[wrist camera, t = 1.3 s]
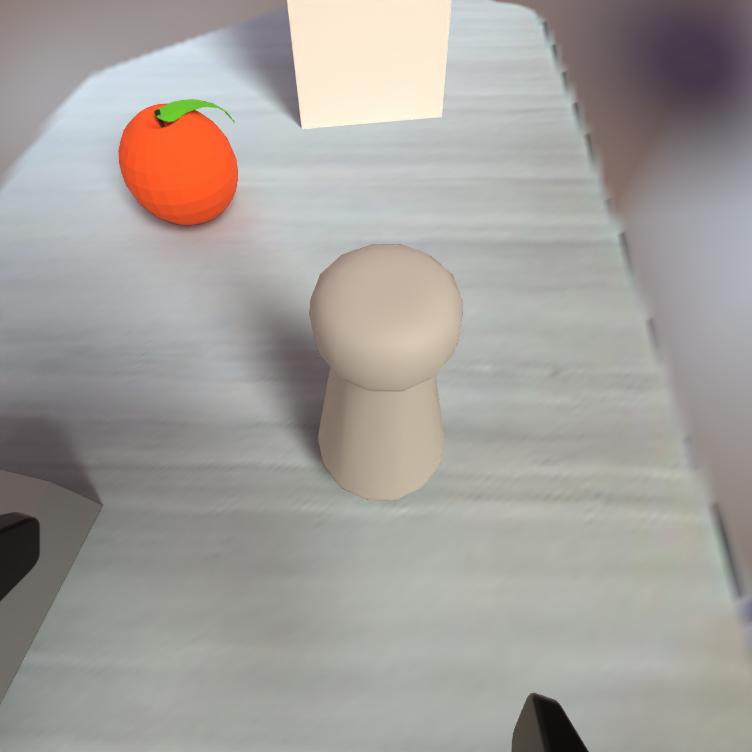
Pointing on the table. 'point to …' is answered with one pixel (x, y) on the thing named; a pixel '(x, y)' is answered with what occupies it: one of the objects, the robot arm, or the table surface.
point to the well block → (57, 553)
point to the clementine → (178, 162)
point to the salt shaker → (384, 366)
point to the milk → (369, 59)
